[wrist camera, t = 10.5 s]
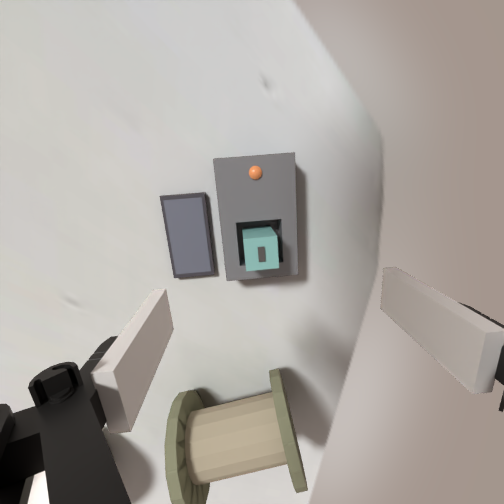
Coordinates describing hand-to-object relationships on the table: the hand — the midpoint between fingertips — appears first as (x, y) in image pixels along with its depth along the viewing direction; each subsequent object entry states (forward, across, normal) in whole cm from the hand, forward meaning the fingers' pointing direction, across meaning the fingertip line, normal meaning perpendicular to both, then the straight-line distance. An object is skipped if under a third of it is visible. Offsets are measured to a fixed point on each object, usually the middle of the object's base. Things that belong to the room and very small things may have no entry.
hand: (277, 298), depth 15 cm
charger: (+22, 0, -2) cm, 22 cm away
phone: (+23, -10, 0) cm, 25 cm away
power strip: (+23, 0, +1) cm, 23 cm away
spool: (+23, -5, -30) cm, 38 cm away
